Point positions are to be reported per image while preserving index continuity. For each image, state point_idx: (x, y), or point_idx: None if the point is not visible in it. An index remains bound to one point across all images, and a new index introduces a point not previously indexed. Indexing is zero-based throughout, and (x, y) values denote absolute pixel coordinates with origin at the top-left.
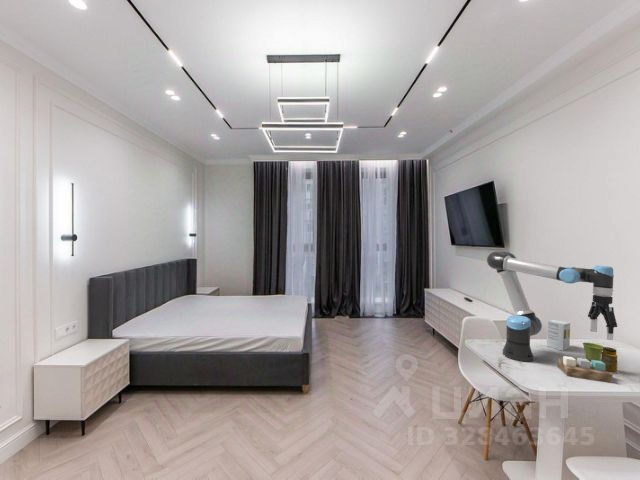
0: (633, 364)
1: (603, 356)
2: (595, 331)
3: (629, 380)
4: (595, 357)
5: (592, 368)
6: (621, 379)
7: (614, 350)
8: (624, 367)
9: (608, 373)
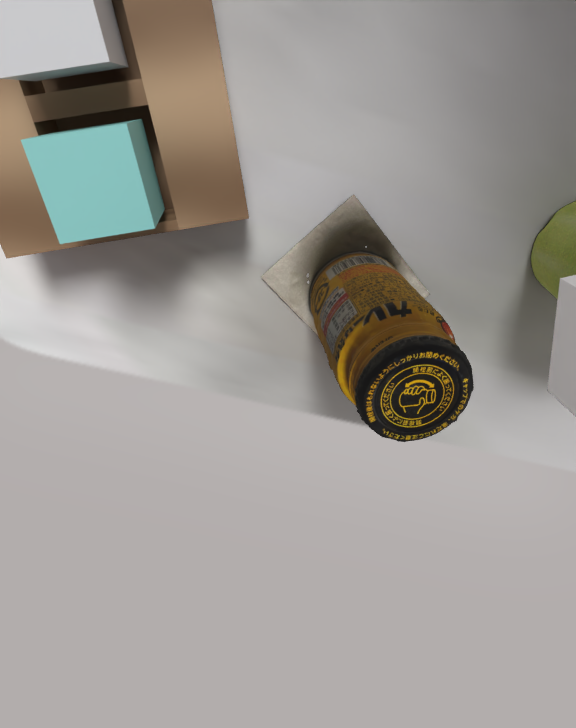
0: (556, 463)
1: (367, 300)
2: (554, 371)
3: (199, 367)
4: (549, 264)
5: (67, 112)
6: (183, 324)
7: (368, 423)
8: (474, 406)
9: (17, 233)
